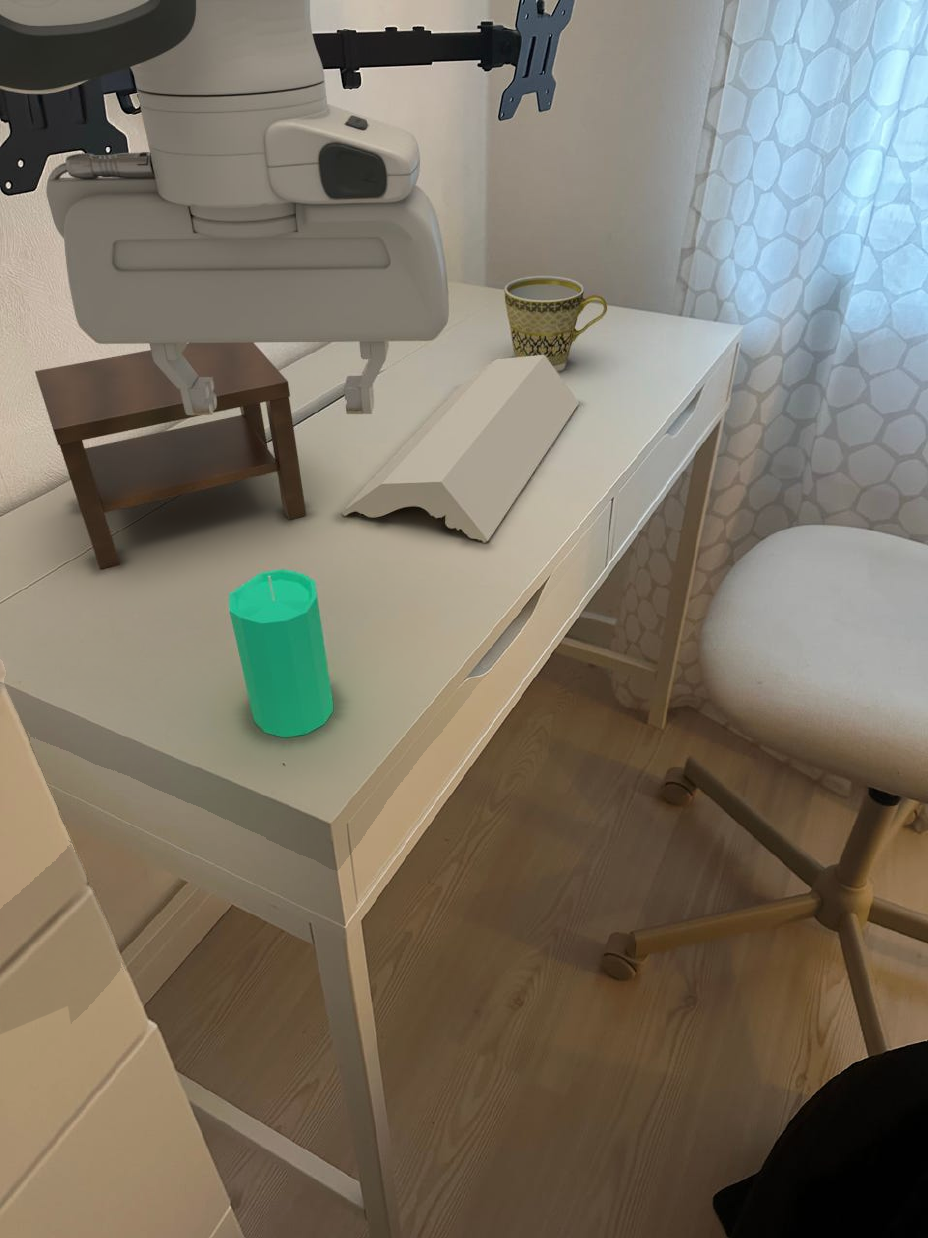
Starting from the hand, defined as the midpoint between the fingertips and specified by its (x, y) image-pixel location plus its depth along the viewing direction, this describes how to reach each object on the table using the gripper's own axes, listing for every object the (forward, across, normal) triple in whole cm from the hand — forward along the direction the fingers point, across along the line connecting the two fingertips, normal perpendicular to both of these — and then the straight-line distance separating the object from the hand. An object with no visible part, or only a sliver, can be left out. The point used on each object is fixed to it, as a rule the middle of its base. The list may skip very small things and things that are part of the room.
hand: (281, 410), depth 53 cm
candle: (+24, -2, -1) cm, 24 cm away
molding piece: (+23, +11, +39) cm, 47 cm away
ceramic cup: (+23, +21, +64) cm, 72 cm away
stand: (+23, -18, +28) cm, 41 cm away
